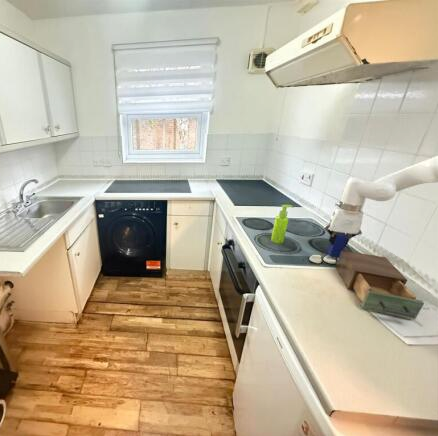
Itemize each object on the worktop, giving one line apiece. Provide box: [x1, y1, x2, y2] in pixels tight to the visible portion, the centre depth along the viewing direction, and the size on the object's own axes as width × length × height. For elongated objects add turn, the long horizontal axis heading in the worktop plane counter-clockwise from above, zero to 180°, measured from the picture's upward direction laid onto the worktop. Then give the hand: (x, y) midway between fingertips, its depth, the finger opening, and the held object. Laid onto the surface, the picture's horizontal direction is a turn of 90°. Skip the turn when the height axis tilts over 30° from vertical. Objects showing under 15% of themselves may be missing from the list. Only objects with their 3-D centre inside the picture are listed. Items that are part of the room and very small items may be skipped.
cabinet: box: [334, 250, 408, 292], centre depth 92 cm, size 16×15×9 cm
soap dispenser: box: [270, 204, 294, 244], centre depth 122 cm, size 6×7×20 cm
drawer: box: [352, 273, 425, 321], centre depth 80 cm, size 19×13×7 cm
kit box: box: [326, 232, 348, 259], centre depth 108 cm, size 4×5×11 cm
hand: (337, 244), depth 108 cm, fingers closed on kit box, 4 cm apart
